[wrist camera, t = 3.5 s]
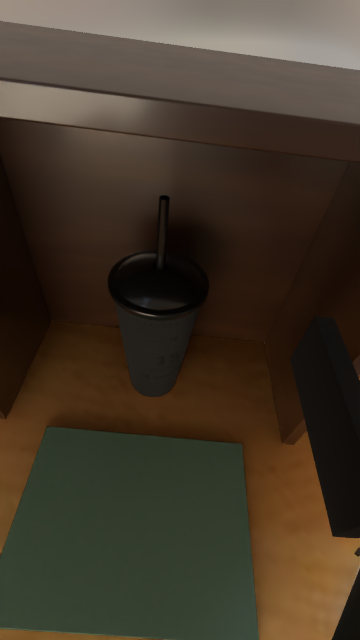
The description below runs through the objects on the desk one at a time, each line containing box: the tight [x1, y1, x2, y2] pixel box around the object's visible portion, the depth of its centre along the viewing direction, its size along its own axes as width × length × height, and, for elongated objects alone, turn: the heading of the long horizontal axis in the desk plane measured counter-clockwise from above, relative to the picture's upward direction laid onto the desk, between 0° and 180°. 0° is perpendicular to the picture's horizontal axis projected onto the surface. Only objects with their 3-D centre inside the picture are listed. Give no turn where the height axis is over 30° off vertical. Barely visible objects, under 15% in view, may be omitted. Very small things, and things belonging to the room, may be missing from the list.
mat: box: [0, 426, 259, 640], centre depth 24 cm, size 13×18×1 cm
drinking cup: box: [108, 195, 209, 397], centre depth 26 cm, size 8×8×20 cm
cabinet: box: [0, 21, 360, 445], centre depth 24 cm, size 14×28×26 cm, turn 87°
